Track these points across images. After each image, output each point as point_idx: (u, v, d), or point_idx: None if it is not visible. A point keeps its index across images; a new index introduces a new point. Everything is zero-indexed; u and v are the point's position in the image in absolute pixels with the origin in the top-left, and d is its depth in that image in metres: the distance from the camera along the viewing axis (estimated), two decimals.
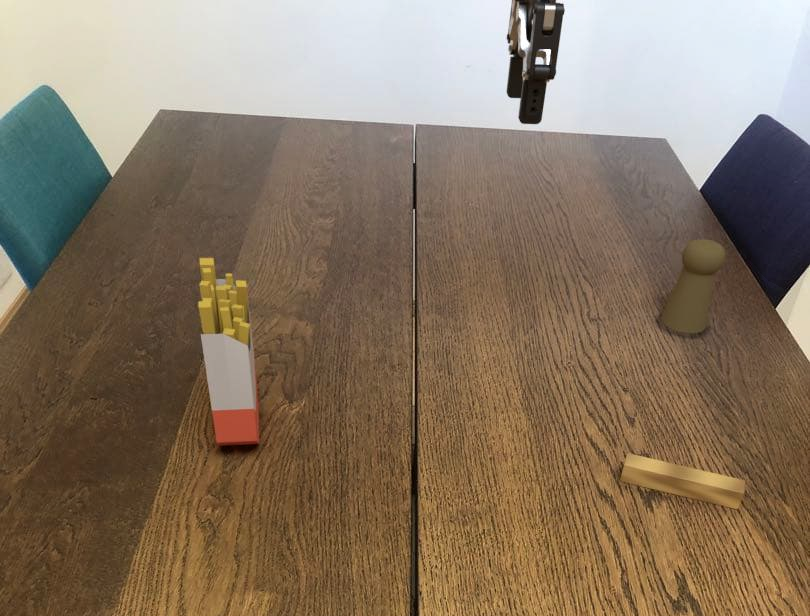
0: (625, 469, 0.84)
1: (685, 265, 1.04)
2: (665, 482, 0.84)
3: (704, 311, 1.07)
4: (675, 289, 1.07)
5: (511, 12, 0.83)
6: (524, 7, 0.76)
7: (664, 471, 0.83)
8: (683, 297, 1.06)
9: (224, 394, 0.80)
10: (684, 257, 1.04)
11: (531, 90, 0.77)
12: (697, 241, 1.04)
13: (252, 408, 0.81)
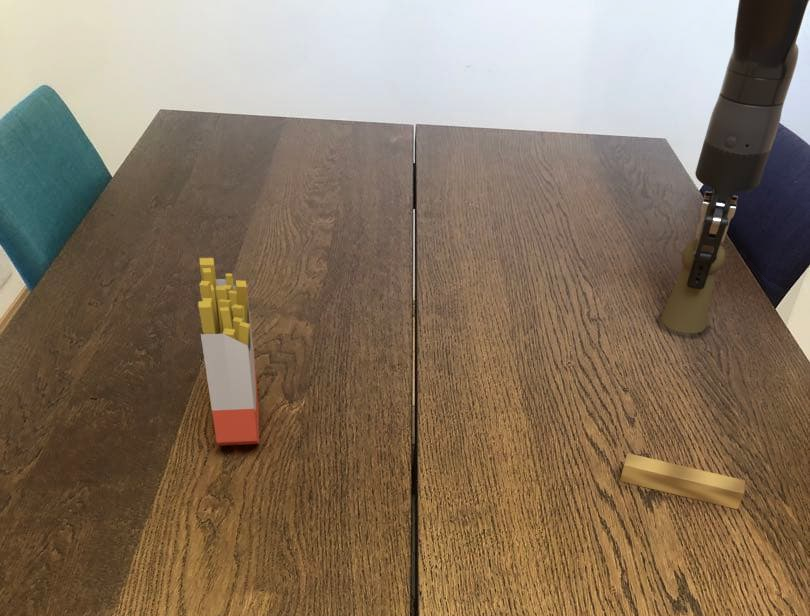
0: (625, 469, 0.84)
1: (685, 265, 1.04)
2: (665, 482, 0.84)
3: (704, 311, 1.07)
4: (675, 289, 1.07)
5: None
6: (706, 205, 0.99)
7: (664, 471, 0.83)
8: (683, 297, 1.06)
9: (224, 394, 0.80)
10: (683, 257, 1.04)
11: (698, 266, 1.02)
12: (697, 241, 1.04)
13: (252, 408, 0.81)
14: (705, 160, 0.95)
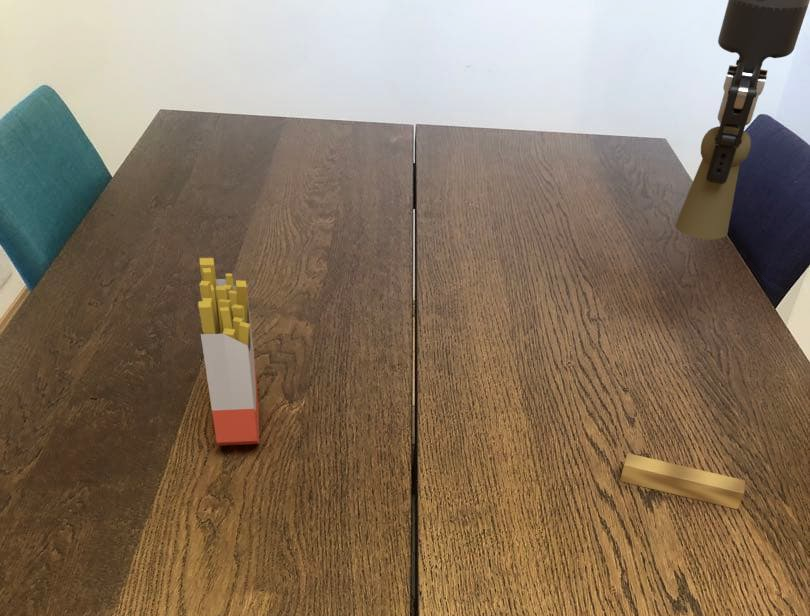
0: (625, 469, 0.84)
1: (704, 156, 0.90)
2: (665, 482, 0.84)
3: (725, 212, 0.93)
4: (692, 187, 0.93)
5: None
6: (731, 79, 0.84)
7: (664, 471, 0.83)
8: (702, 195, 0.92)
9: (224, 394, 0.80)
10: (703, 146, 0.90)
11: (719, 154, 0.87)
12: (718, 127, 0.90)
13: (252, 408, 0.81)
14: (730, 20, 0.81)
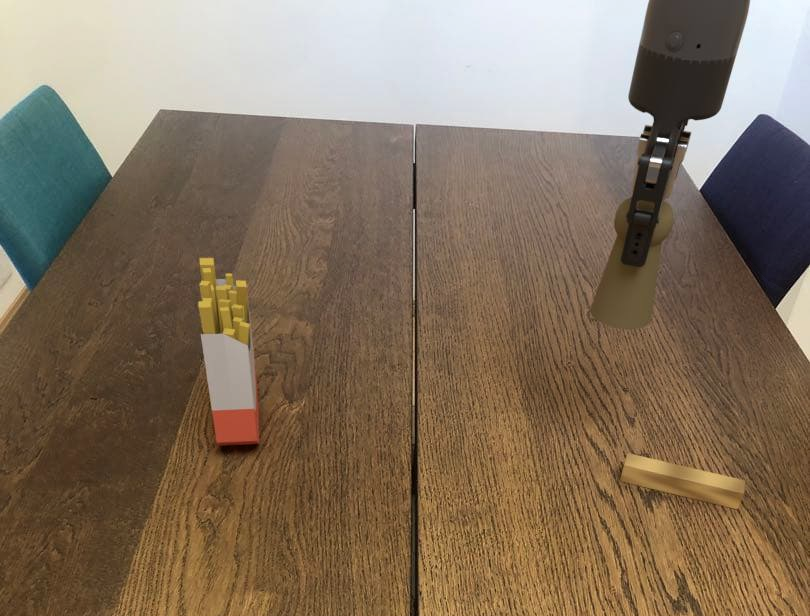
0: (625, 469, 0.84)
1: (618, 233, 0.74)
2: (665, 482, 0.84)
3: (646, 298, 0.77)
4: (607, 267, 0.77)
5: None
6: (645, 143, 0.68)
7: (664, 471, 0.83)
8: (617, 278, 0.76)
9: (224, 394, 0.80)
10: (616, 221, 0.74)
11: (634, 233, 0.71)
12: None
13: (252, 408, 0.81)
14: (639, 72, 0.65)
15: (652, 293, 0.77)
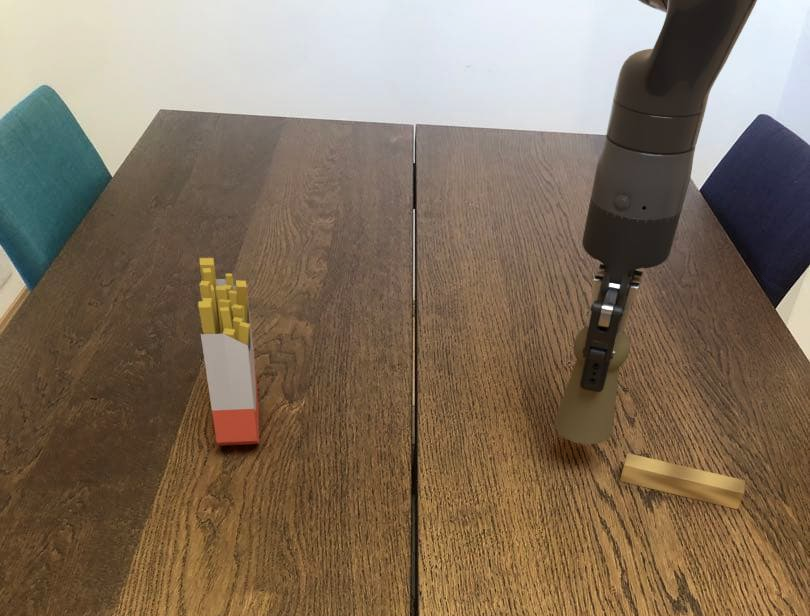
0: (625, 469, 0.84)
1: (577, 359, 0.78)
2: (665, 482, 0.84)
3: (606, 416, 0.80)
4: (568, 387, 0.81)
5: None
6: (599, 284, 0.72)
7: (664, 471, 0.83)
8: (578, 399, 0.80)
9: (224, 394, 0.80)
10: (575, 348, 0.77)
11: (591, 364, 0.75)
12: None
13: (252, 408, 0.81)
14: (591, 224, 0.68)
15: (611, 411, 0.81)
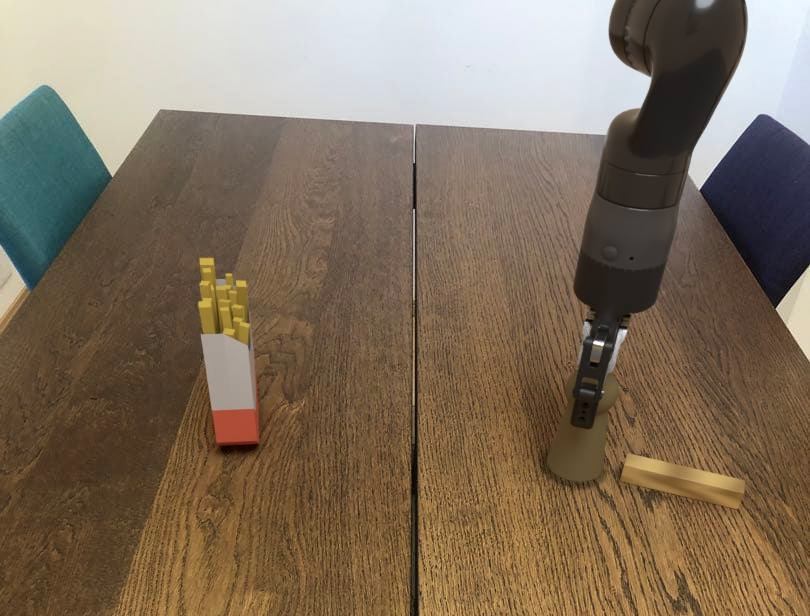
0: (625, 469, 0.84)
1: (568, 401, 0.81)
2: (665, 482, 0.84)
3: (596, 455, 0.84)
4: (560, 427, 0.84)
5: None
6: (589, 325, 0.75)
7: (664, 471, 0.83)
8: (569, 439, 0.83)
9: (224, 394, 0.80)
10: (566, 391, 0.81)
11: (581, 403, 0.76)
12: None
13: (252, 408, 0.81)
14: (581, 272, 0.71)
15: (601, 450, 0.84)
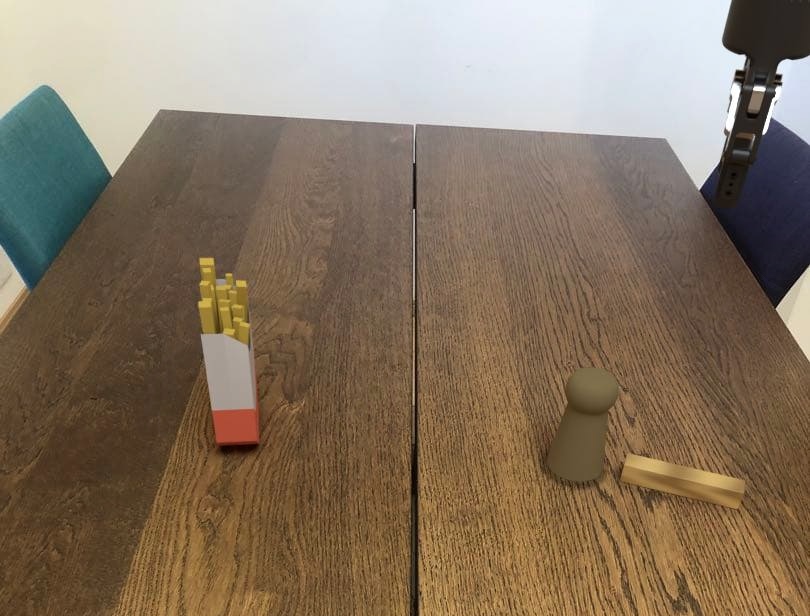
0: (625, 469, 0.84)
1: (568, 401, 0.81)
2: (665, 482, 0.84)
3: (596, 455, 0.84)
4: (560, 427, 0.84)
5: None
6: (739, 84, 0.69)
7: (664, 471, 0.83)
8: (569, 439, 0.83)
9: (224, 394, 0.80)
10: (566, 391, 0.81)
11: (729, 173, 0.71)
12: (583, 371, 0.80)
13: (252, 408, 0.81)
14: (737, 15, 0.66)
15: (601, 450, 0.84)
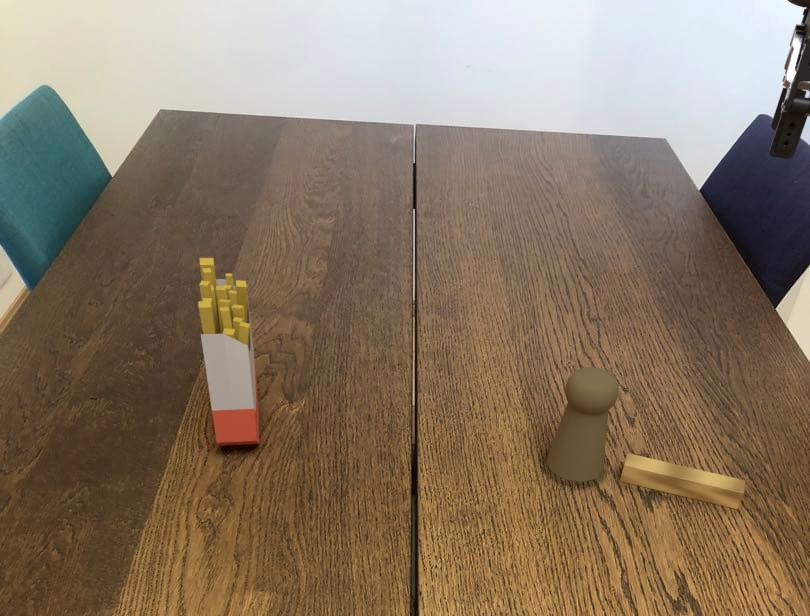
0: (625, 469, 0.84)
1: (568, 401, 0.81)
2: (665, 482, 0.84)
3: (596, 455, 0.84)
4: (560, 427, 0.84)
5: None
6: (801, 37, 0.72)
7: (664, 471, 0.83)
8: (569, 439, 0.83)
9: (224, 394, 0.80)
10: (566, 391, 0.81)
11: (787, 123, 0.74)
12: (583, 371, 0.80)
13: (252, 408, 0.81)
14: None
15: (601, 450, 0.84)
